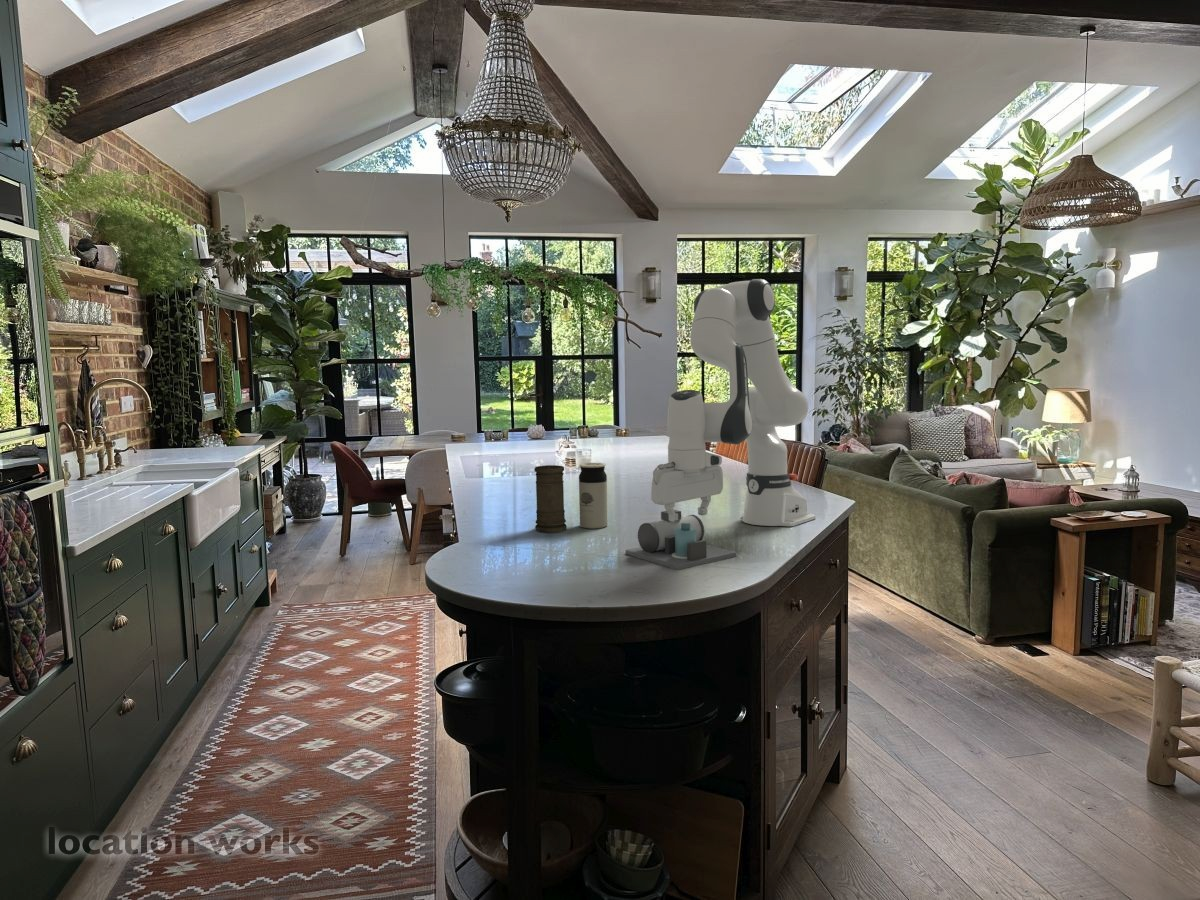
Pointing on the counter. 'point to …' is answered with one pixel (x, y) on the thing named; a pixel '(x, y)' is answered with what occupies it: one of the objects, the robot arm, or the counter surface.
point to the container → (550, 499)
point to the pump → (684, 539)
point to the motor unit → (661, 543)
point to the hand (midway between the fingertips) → (688, 517)
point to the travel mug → (593, 495)
